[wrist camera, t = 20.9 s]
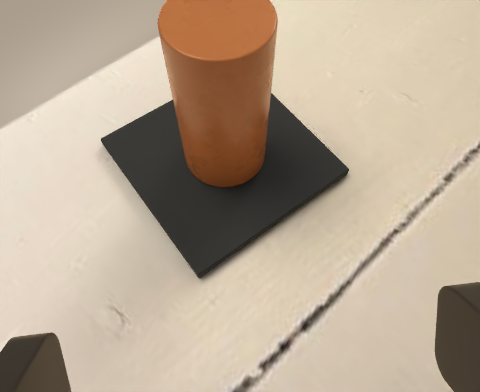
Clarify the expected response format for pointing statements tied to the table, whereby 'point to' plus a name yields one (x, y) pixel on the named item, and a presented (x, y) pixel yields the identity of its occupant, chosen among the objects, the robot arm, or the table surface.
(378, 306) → the table surface
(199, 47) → the spice tin
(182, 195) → the mat
